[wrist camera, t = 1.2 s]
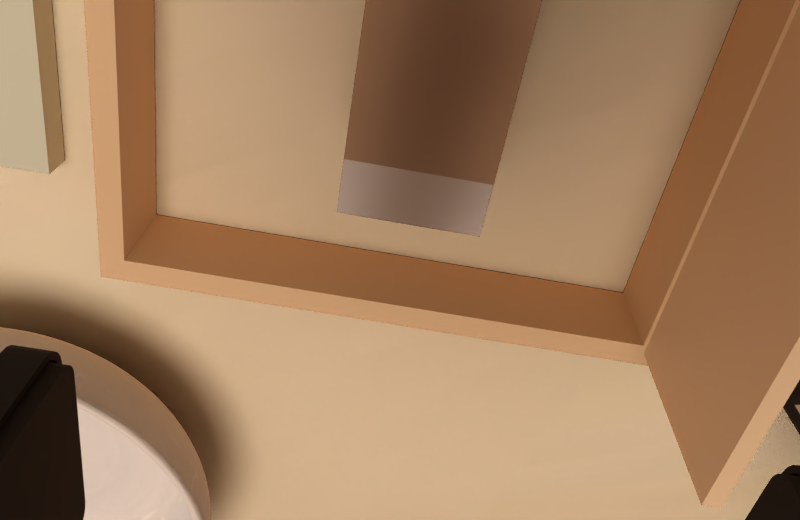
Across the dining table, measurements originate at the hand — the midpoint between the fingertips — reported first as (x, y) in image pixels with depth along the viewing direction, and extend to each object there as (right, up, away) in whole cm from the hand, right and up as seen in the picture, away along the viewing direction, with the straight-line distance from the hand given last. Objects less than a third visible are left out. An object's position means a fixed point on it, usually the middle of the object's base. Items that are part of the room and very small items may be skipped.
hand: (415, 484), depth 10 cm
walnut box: (+1, +12, +19) cm, 22 cm away
